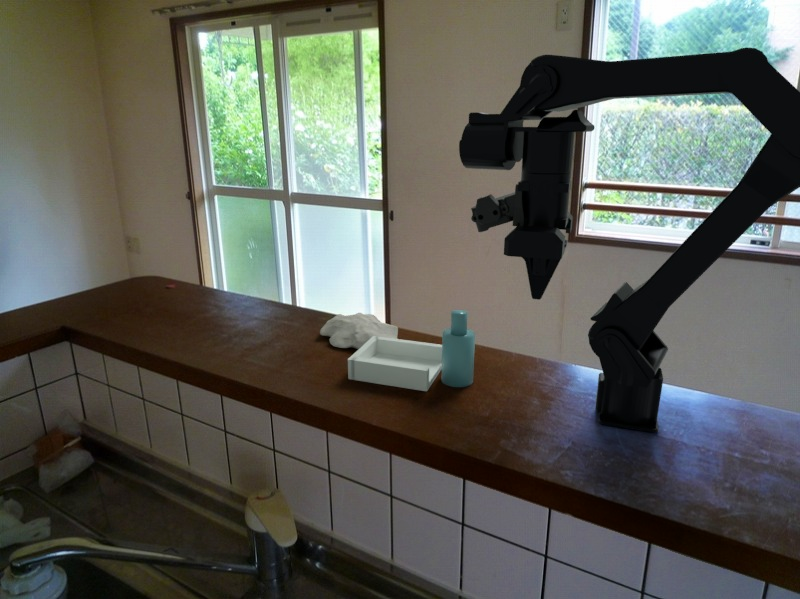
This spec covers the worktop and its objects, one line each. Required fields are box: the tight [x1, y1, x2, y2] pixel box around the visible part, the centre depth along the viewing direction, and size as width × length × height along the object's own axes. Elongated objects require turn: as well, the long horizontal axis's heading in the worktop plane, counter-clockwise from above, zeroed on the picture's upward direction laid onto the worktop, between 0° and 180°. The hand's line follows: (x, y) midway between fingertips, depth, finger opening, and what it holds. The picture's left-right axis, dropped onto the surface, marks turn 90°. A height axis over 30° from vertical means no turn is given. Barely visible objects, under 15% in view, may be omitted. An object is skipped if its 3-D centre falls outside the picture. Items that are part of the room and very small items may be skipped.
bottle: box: [440, 309, 476, 388], centre depth 76 cm, size 4×4×10 cm
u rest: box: [347, 336, 442, 392], centre depth 80 cm, size 12×9×3 cm
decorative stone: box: [319, 312, 399, 350], centre depth 91 cm, size 11×4×15 cm
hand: (536, 298), depth 70 cm, fingers closed
